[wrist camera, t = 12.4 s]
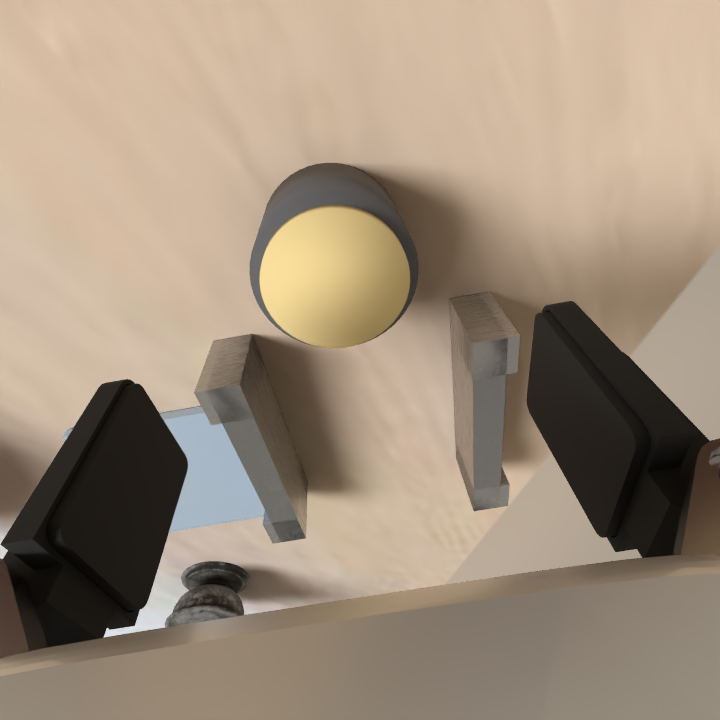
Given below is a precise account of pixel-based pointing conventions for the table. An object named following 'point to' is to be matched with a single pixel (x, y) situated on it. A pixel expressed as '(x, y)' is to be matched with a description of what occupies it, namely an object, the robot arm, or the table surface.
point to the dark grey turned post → (209, 593)
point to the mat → (209, 474)
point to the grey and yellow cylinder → (333, 258)
